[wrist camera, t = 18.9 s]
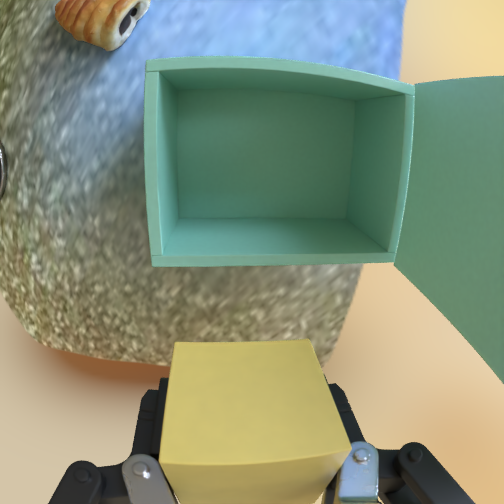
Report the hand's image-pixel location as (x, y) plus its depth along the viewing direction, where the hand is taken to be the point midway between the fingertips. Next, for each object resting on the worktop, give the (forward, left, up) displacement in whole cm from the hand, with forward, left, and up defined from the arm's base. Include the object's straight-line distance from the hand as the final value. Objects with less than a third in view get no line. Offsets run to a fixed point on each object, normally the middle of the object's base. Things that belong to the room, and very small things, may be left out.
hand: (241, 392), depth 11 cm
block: (0, 0, 0) cm, 0 cm away
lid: (+11, +8, 0) cm, 13 cm away
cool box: (+3, +8, -18) cm, 19 cm away
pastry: (-12, +22, -18) cm, 30 cm away
